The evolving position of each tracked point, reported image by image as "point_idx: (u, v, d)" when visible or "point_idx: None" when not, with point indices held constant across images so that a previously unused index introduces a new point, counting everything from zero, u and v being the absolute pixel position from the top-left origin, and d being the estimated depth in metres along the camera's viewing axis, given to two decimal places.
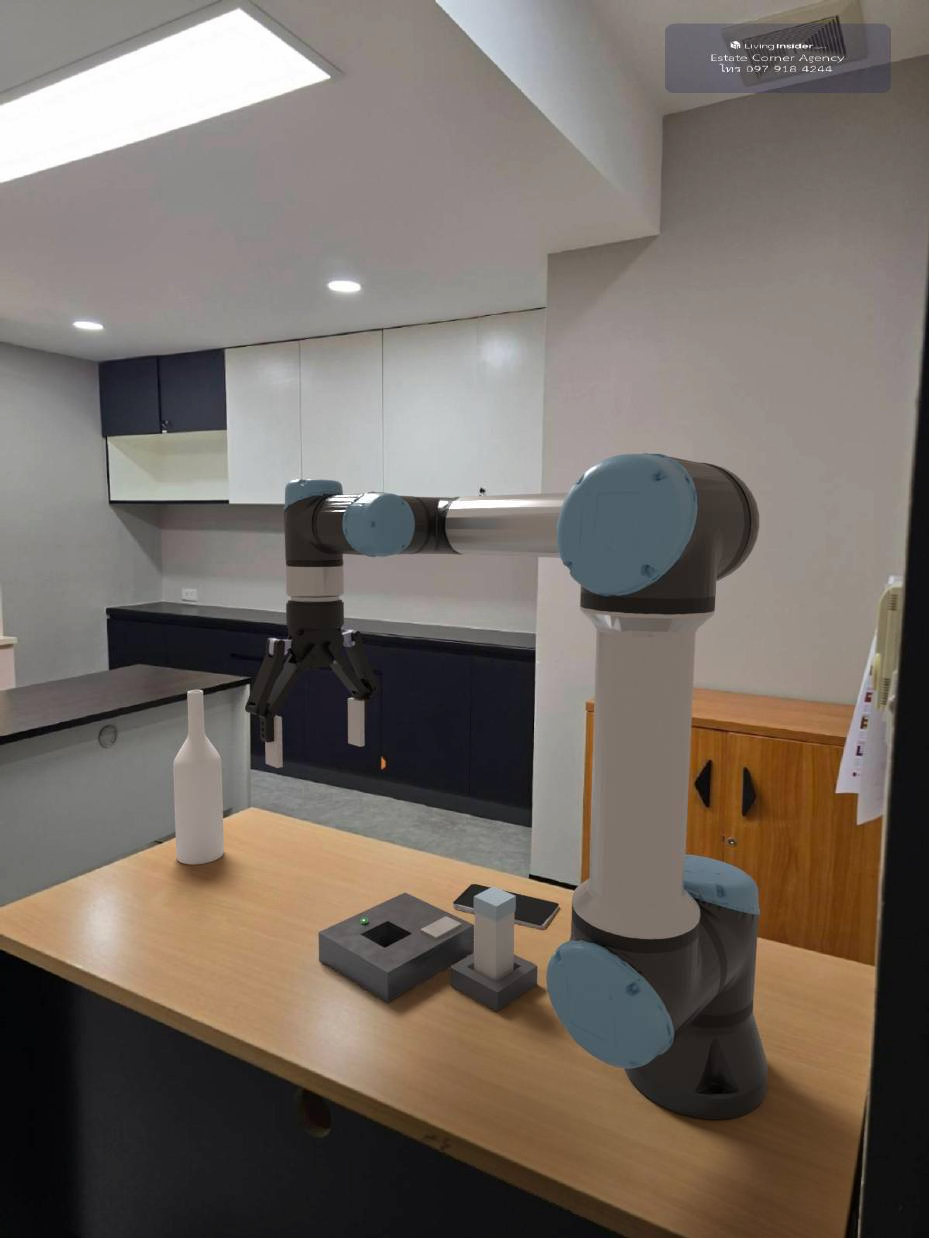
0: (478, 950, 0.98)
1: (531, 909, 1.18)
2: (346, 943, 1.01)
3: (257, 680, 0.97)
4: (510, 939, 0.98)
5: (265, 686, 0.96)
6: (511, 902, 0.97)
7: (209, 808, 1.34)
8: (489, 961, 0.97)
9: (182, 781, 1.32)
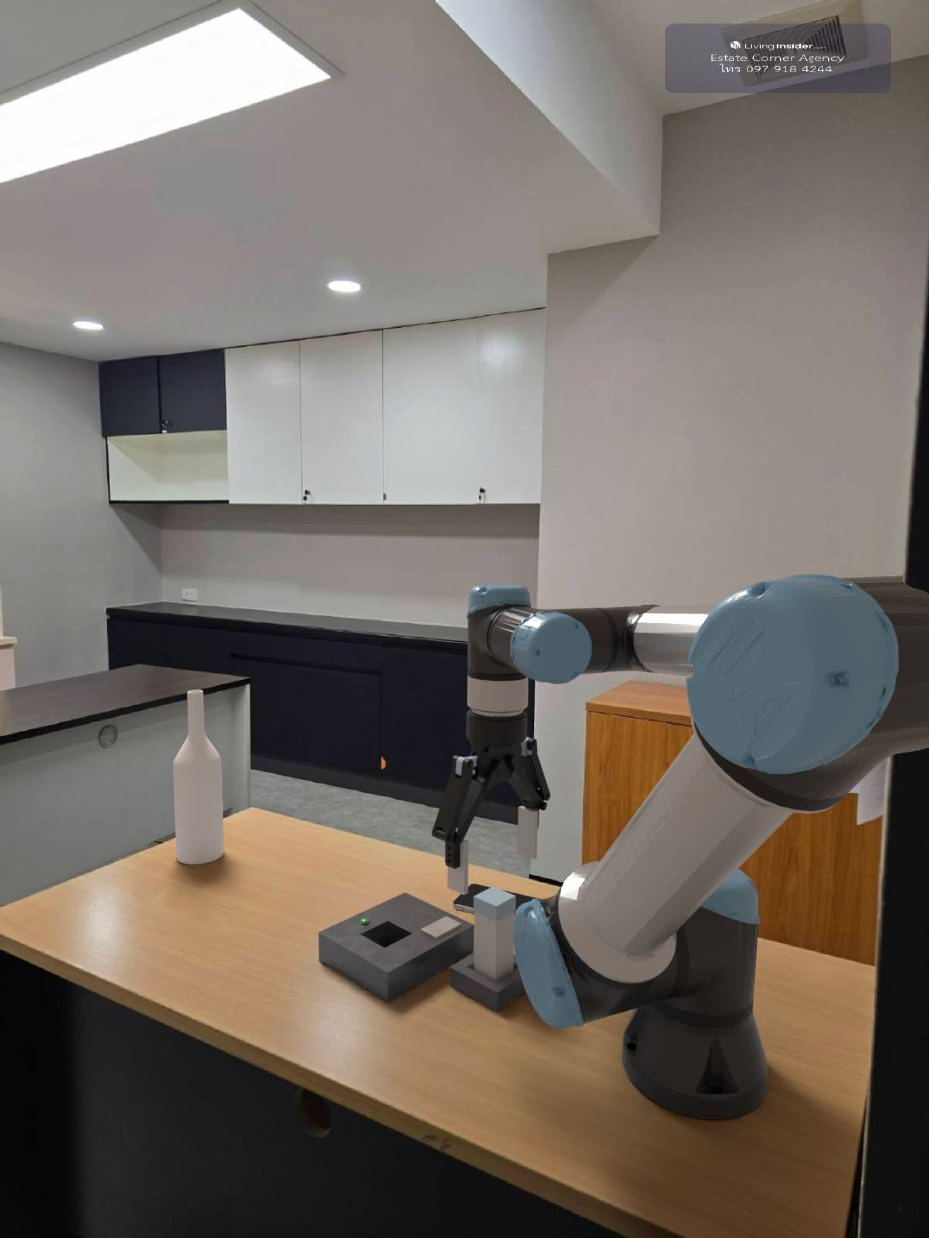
0: (478, 950, 0.98)
1: None
2: (346, 943, 1.01)
3: (444, 802, 0.91)
4: (510, 939, 0.98)
5: (455, 811, 0.89)
6: (511, 902, 0.97)
7: (209, 808, 1.34)
8: (489, 961, 0.97)
9: (182, 781, 1.32)
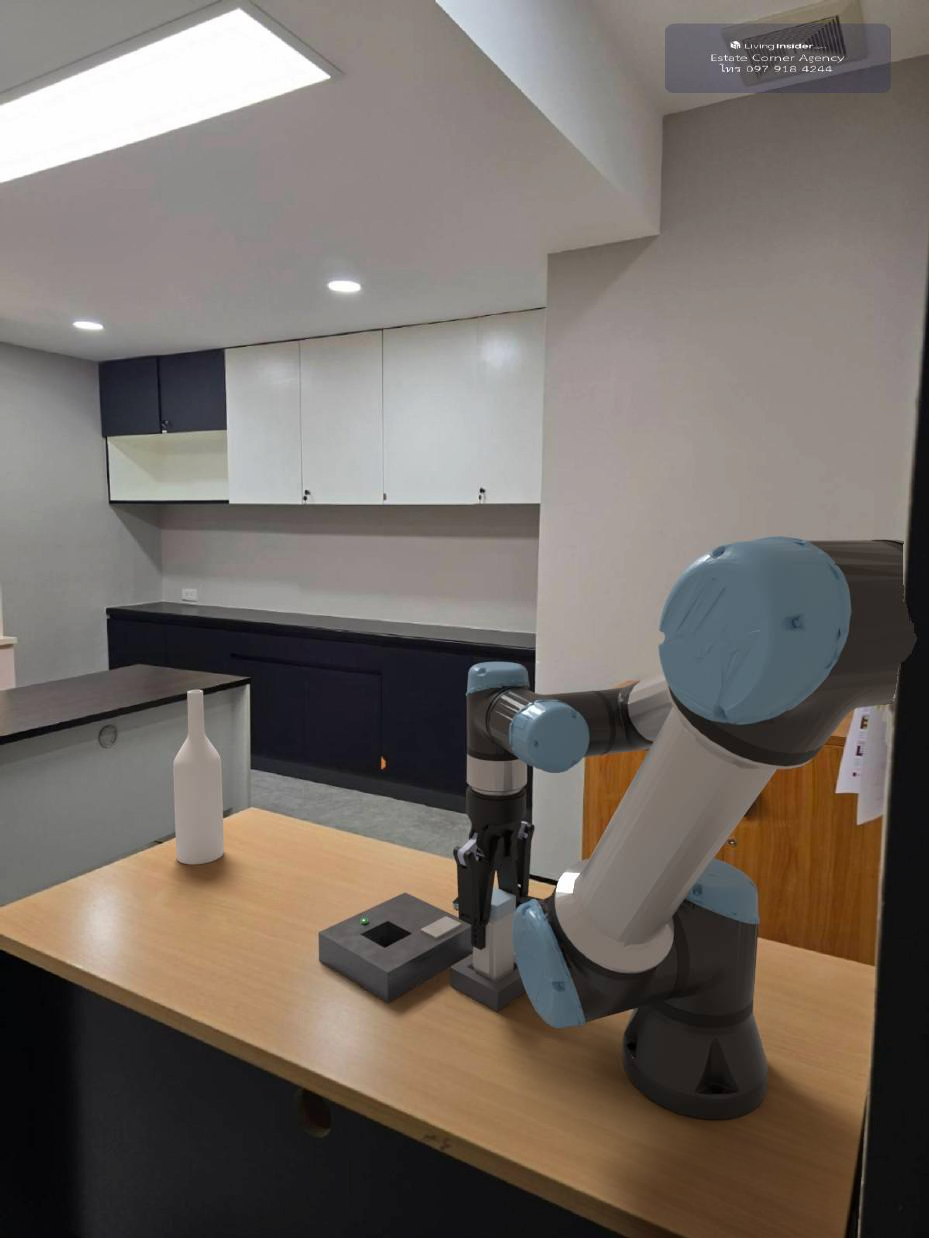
0: None
1: None
2: (346, 943, 1.01)
3: (460, 891, 0.94)
4: (510, 939, 0.98)
5: (472, 899, 0.93)
6: (511, 902, 0.97)
7: (209, 808, 1.34)
8: None
9: (182, 781, 1.32)
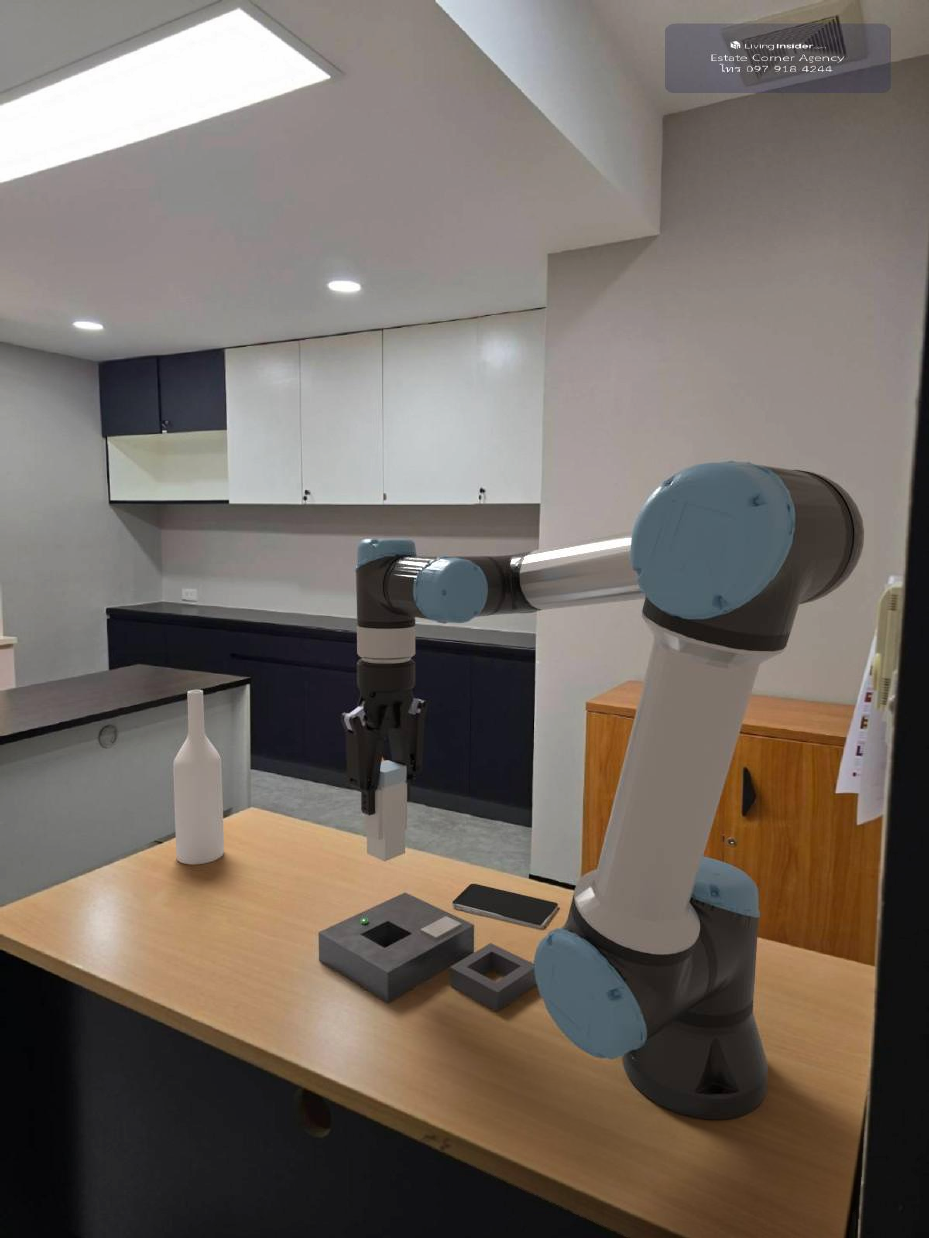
0: None
1: (530, 909, 1.18)
2: (346, 943, 1.01)
3: (348, 756, 0.97)
4: (401, 808, 1.01)
5: (359, 763, 0.96)
6: (401, 771, 1.01)
7: (209, 808, 1.34)
8: None
9: (182, 781, 1.32)
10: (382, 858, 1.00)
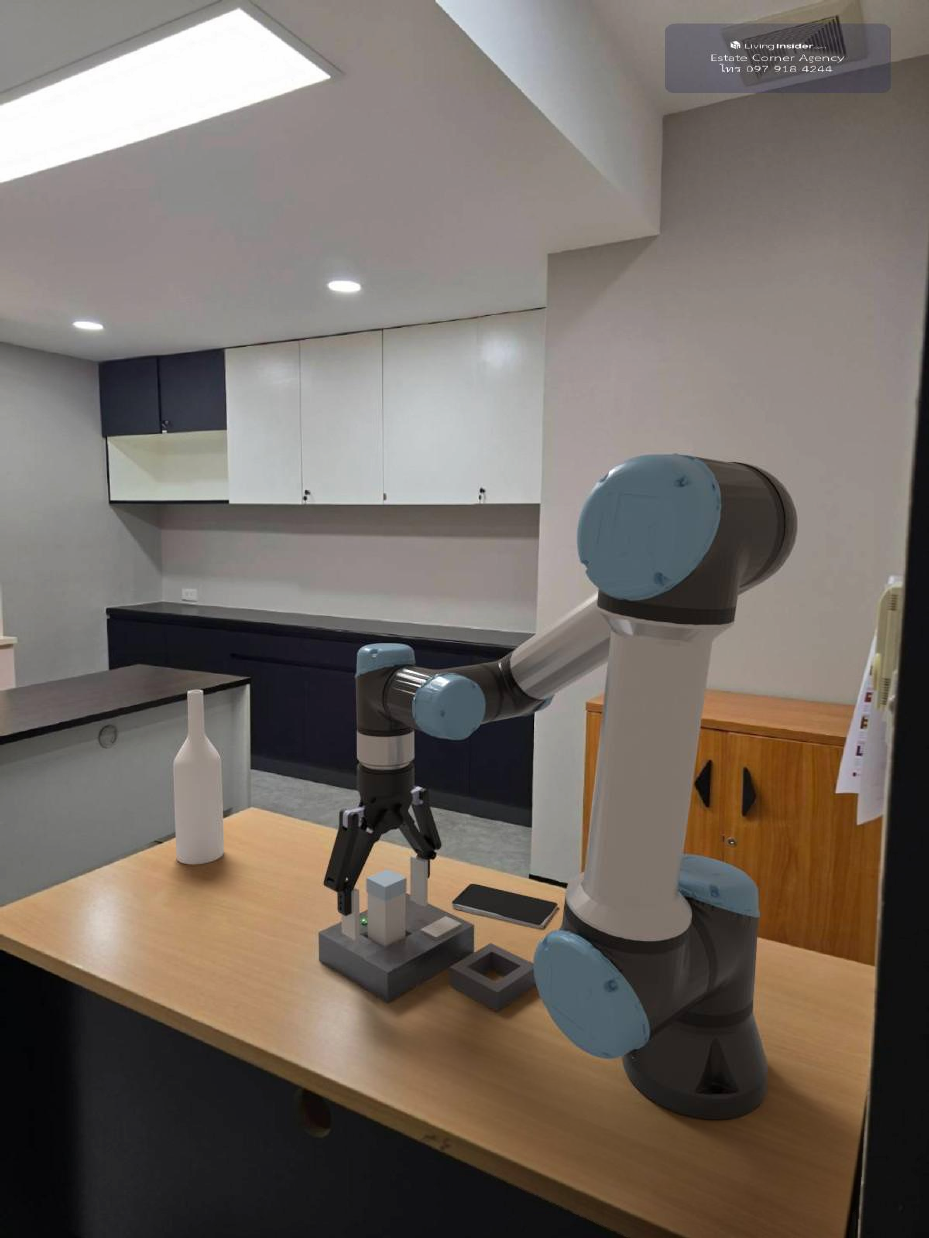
0: (371, 929, 1.03)
1: (530, 909, 1.18)
2: (346, 943, 1.01)
3: (333, 853, 0.97)
4: (401, 919, 1.03)
5: (342, 862, 0.95)
6: (401, 883, 1.02)
7: (209, 808, 1.34)
8: (380, 939, 1.02)
9: (182, 781, 1.32)
10: None
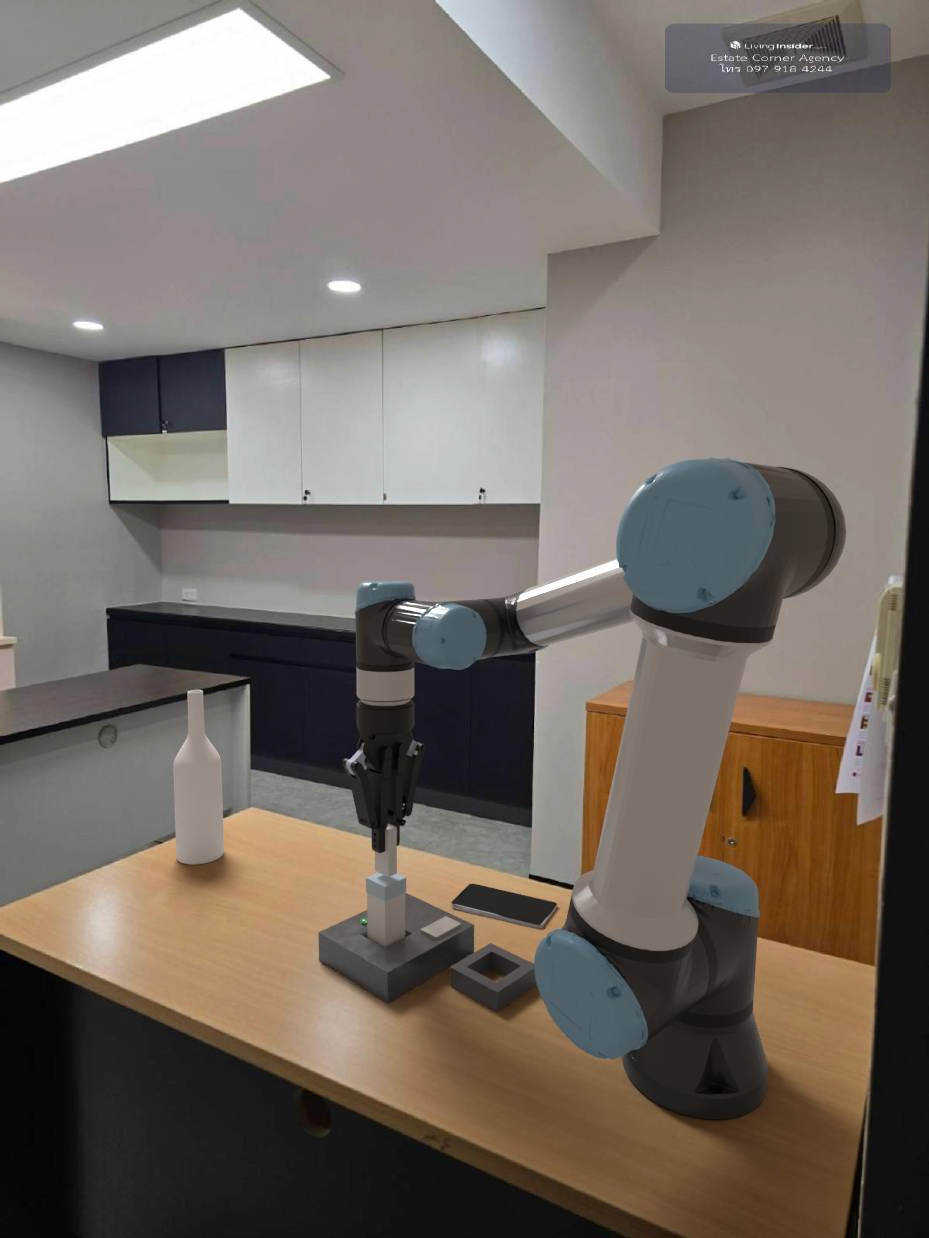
0: (370, 929, 1.03)
1: (529, 909, 1.18)
2: (346, 943, 1.01)
3: (355, 798, 0.99)
4: (401, 919, 1.03)
5: (366, 805, 0.98)
6: (401, 883, 1.02)
7: (209, 808, 1.34)
8: (380, 939, 1.02)
9: (182, 781, 1.32)
10: None
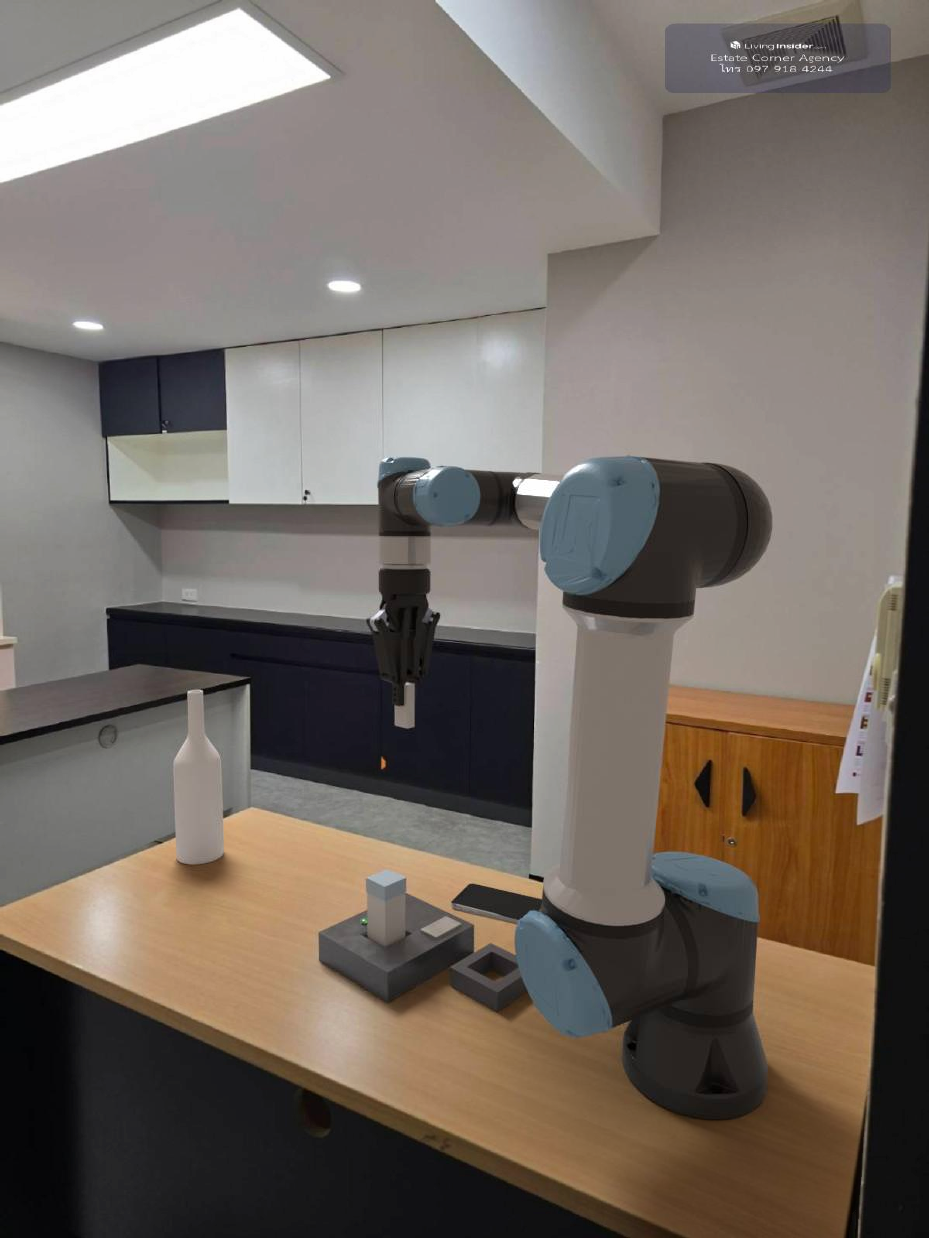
0: (370, 929, 1.03)
1: (529, 908, 1.18)
2: (346, 943, 1.01)
3: (377, 654, 1.10)
4: (401, 919, 1.03)
5: (388, 659, 1.09)
6: (401, 883, 1.02)
7: (209, 808, 1.34)
8: (380, 939, 1.02)
9: (182, 781, 1.32)
10: None
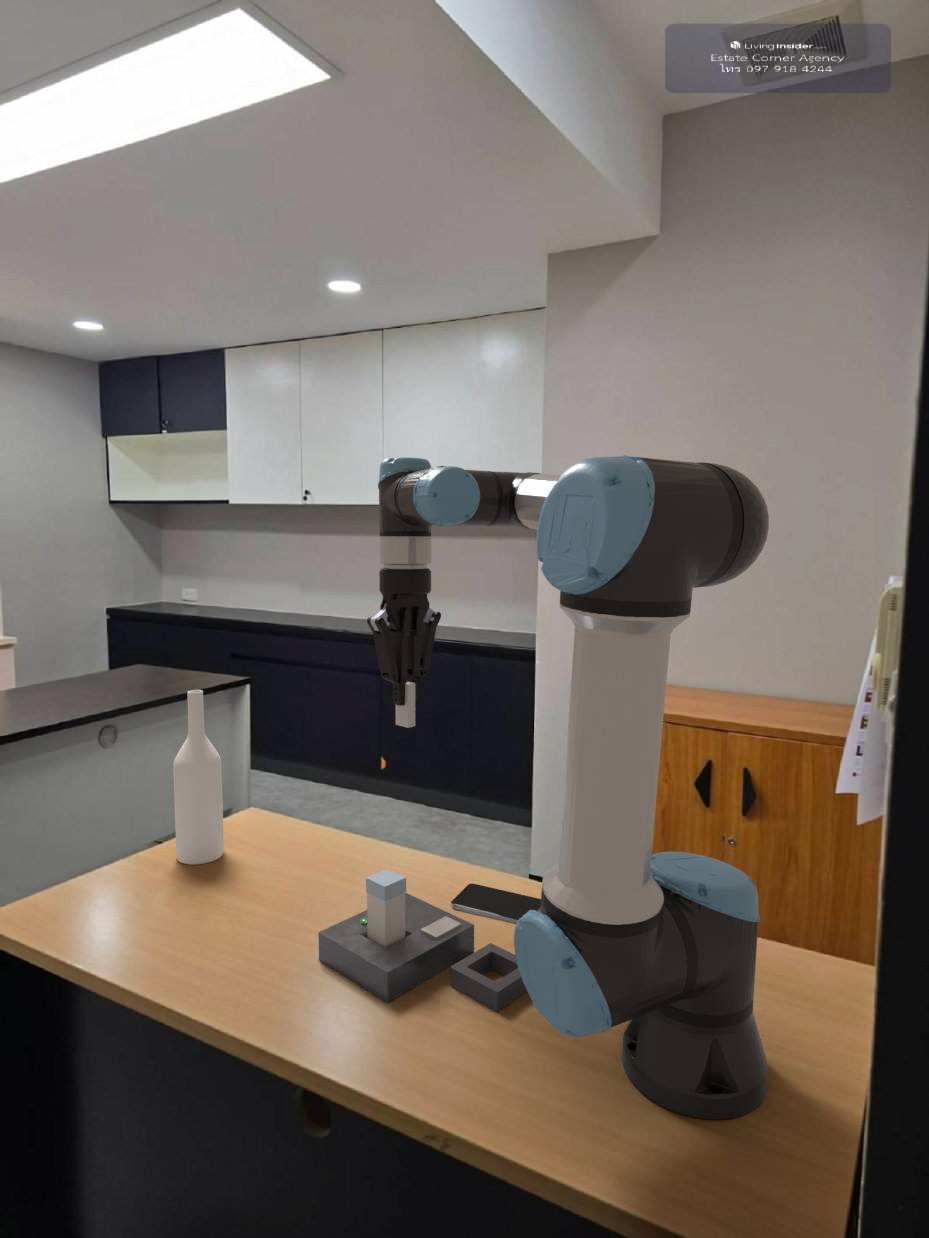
0: (370, 929, 1.03)
1: (529, 908, 1.18)
2: (346, 943, 1.01)
3: (378, 654, 1.10)
4: (401, 919, 1.03)
5: (389, 658, 1.09)
6: (401, 883, 1.02)
7: (209, 808, 1.34)
8: (380, 939, 1.02)
9: (182, 781, 1.32)
10: None
